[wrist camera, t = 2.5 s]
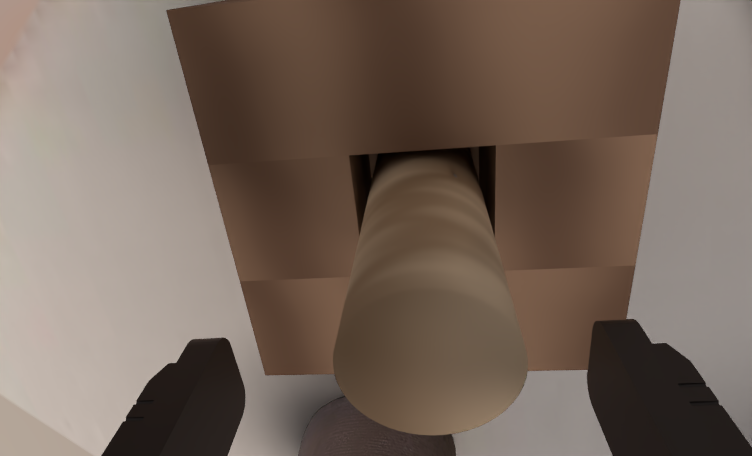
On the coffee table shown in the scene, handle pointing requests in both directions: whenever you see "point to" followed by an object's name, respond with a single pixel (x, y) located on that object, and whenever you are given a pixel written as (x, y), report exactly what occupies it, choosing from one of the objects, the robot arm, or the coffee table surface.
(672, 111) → the coffee table surface
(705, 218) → the coffee table surface
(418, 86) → the socket block
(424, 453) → the pillar candle
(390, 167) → the peg
